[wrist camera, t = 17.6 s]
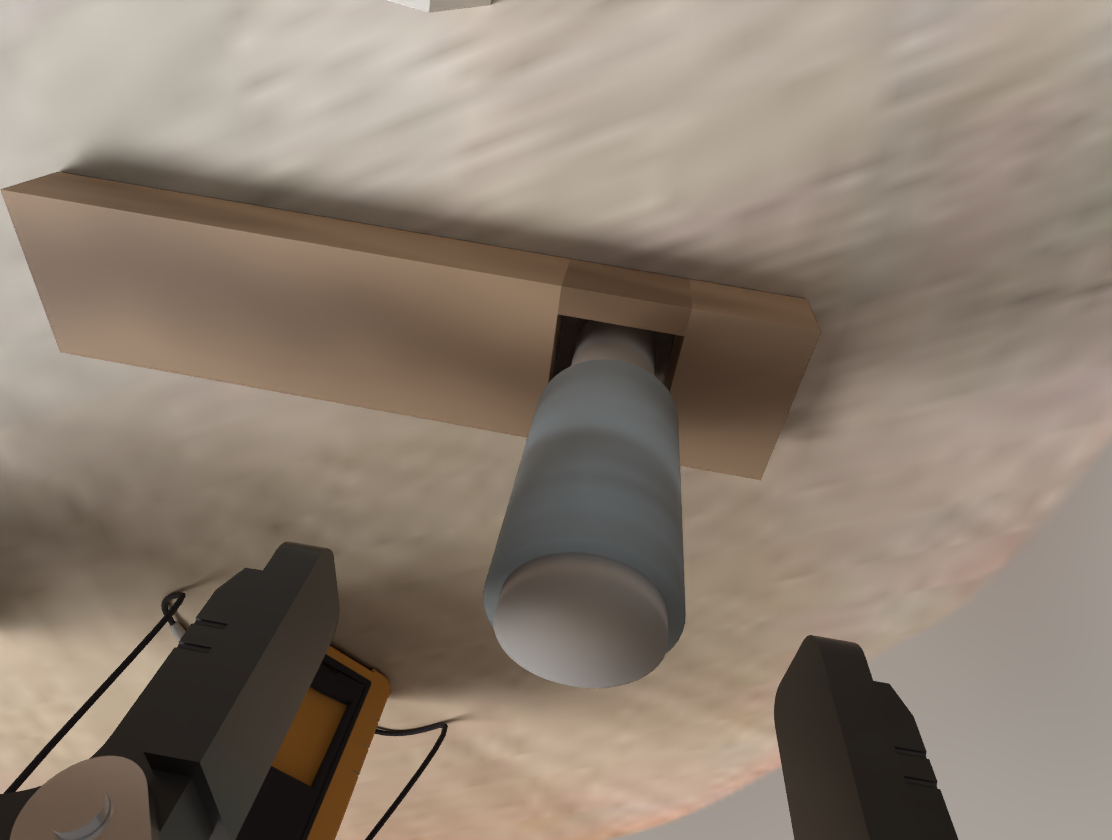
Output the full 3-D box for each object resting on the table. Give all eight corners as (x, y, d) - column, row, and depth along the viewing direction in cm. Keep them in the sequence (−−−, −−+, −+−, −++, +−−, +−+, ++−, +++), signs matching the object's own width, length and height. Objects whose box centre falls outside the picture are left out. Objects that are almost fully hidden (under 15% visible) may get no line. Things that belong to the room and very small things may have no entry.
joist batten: (752, 440, 21) (760, 480, 19) (105, 324, 22) (60, 352, 20) (806, 299, 18) (821, 330, 16) (57, 171, 19) (0, 189, 17)
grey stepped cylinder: (661, 405, 20) (660, 713, 12) (551, 386, 21) (471, 676, 12) (688, 303, 18) (710, 586, 10) (565, 282, 19) (481, 543, 10)
